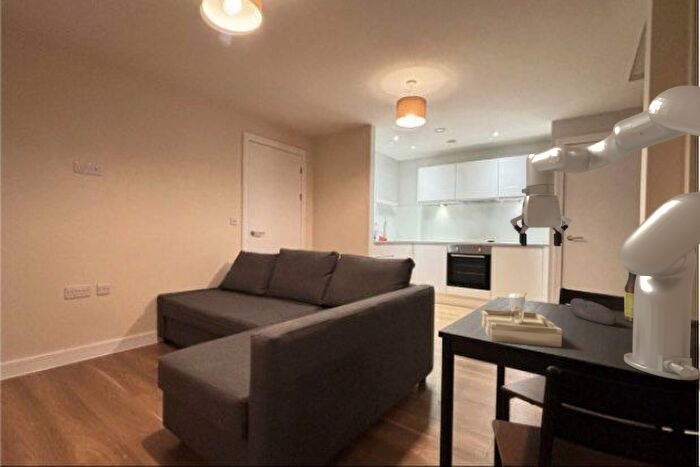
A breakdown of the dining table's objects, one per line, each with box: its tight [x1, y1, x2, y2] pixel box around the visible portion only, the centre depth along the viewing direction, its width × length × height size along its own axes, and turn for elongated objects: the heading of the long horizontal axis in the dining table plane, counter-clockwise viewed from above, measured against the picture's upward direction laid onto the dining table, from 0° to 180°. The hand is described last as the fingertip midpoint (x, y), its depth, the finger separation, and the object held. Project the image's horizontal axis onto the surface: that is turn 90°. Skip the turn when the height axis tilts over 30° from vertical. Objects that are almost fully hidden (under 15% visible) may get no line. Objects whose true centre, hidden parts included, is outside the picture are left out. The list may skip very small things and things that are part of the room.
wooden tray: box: [479, 308, 563, 348], centre depth 96 cm, size 18×18×6 cm
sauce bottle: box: [623, 271, 637, 323], centre depth 111 cm, size 7×6×20 cm
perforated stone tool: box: [569, 297, 617, 326], centre depth 111 cm, size 15×5×7 cm, turn 13°
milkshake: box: [508, 292, 527, 324], centre depth 96 cm, size 4×5×10 cm
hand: (540, 246), depth 98 cm, fingers open, 9 cm apart
